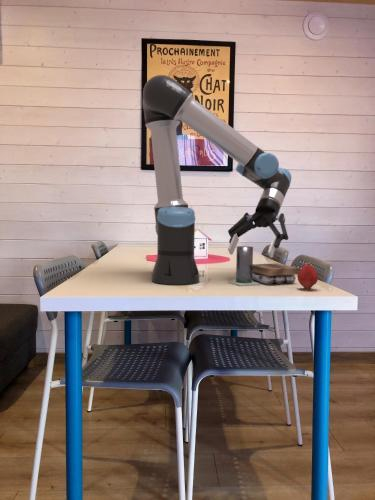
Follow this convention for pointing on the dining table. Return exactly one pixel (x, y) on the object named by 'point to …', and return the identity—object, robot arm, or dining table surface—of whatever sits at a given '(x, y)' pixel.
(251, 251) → the steel roller
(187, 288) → the dining table surface
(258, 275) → the roller track
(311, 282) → the red strawberry
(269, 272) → the slab
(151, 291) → the dining table surface
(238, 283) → the stop pad
